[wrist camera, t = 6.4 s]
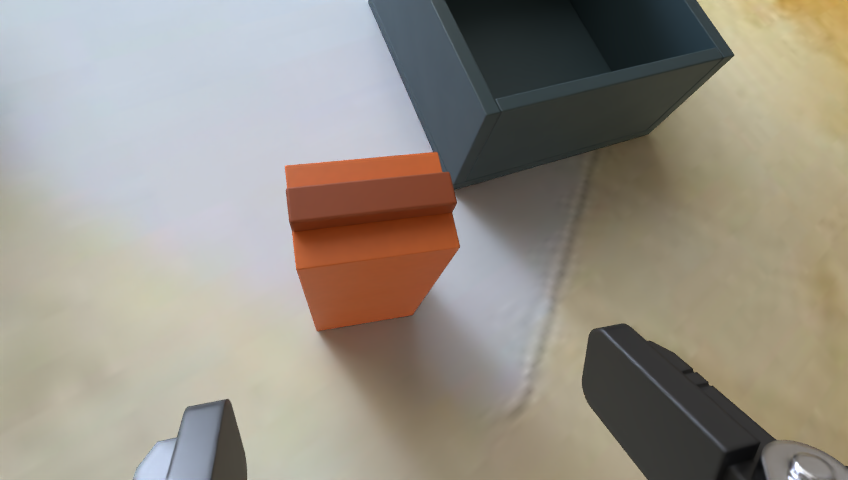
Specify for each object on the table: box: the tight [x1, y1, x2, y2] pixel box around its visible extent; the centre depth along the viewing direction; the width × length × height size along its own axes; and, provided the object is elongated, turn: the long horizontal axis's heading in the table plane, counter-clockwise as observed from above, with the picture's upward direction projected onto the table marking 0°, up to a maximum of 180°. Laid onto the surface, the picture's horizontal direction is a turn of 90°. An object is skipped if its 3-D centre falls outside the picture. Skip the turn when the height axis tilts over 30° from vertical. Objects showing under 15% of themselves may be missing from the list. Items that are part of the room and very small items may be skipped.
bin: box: [368, 0, 734, 190], centre depth 29 cm, size 16×16×8 cm
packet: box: [285, 152, 460, 331], centre depth 20 cm, size 5×4×12 cm
